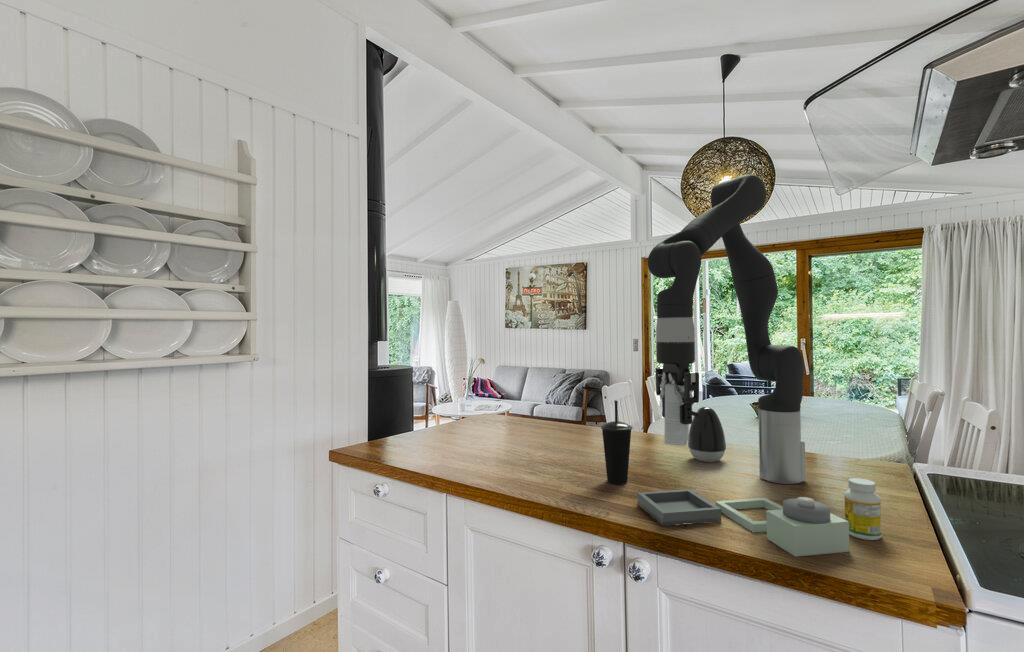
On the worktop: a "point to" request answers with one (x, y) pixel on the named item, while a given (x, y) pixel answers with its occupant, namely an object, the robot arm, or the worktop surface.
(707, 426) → the pump dispenser
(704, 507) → the tray
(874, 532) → the supplement bottle
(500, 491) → the worktop surface
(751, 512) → the worktop surface
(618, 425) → the drinking cup
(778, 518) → the soap dish box
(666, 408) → the skincare box
